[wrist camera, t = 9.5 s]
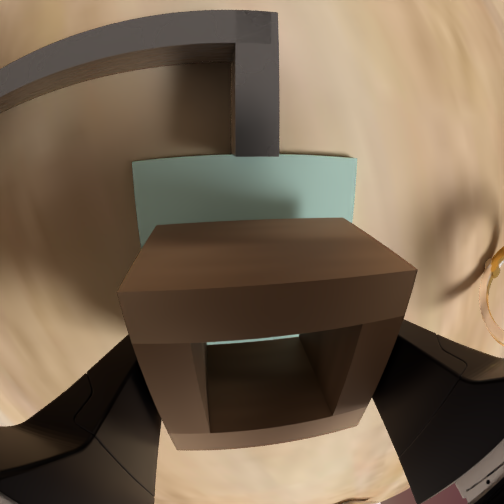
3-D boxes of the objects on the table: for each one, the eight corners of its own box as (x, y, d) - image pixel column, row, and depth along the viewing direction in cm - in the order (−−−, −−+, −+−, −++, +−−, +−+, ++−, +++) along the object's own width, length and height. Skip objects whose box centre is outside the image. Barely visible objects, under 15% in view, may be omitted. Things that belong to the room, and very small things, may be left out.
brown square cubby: (181, 366, 10) (176, 449, 7) (156, 225, 8) (116, 292, 4) (322, 353, 11) (357, 425, 7) (343, 217, 9) (417, 269, 5)
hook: (-33, 198, 7) (-85, 224, 4) (-35, 103, 5) (-88, 108, 2) (266, 153, 9) (301, 162, 5) (265, 26, 7) (295, -30, 4)
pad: (170, 373, 12) (170, 378, 12) (134, 161, 9) (132, 161, 8) (325, 359, 13) (327, 363, 13) (353, 157, 10) (357, 158, 9)
